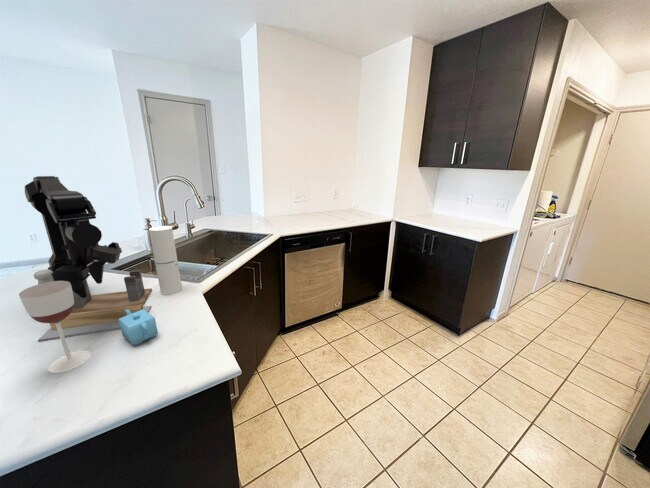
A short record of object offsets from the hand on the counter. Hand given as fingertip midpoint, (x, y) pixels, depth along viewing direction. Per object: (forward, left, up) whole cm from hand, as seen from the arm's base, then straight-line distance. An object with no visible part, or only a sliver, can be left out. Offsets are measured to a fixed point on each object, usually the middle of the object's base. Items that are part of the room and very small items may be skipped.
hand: (92, 290), depth 75 cm
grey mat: (0, 0, -11) cm, 11 cm away
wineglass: (+17, 0, -11) cm, 20 cm away
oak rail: (0, 0, -11) cm, 11 cm away
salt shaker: (-16, -19, -11) cm, 27 cm away
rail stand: (-13, -2, -11) cm, 17 cm away
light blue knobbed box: (+11, +13, -12) cm, 20 cm away
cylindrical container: (-17, +16, -11) cm, 26 cm away
